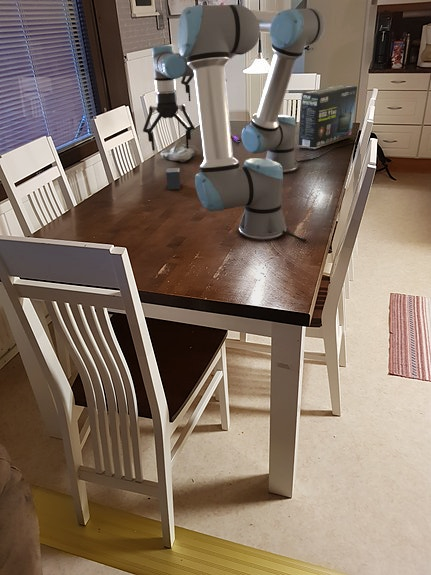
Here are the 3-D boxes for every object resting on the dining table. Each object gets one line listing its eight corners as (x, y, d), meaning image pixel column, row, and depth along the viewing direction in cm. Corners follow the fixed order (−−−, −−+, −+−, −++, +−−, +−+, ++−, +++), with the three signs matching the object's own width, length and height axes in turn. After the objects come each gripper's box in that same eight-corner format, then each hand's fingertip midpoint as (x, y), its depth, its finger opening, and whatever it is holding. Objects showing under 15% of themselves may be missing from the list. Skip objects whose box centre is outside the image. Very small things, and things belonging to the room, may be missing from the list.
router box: (314, 151, 231) (318, 94, 217) (296, 148, 237) (299, 92, 224) (352, 138, 251) (358, 85, 238) (335, 135, 258) (340, 83, 245)
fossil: (184, 156, 217) (163, 136, 220) (174, 174, 223) (154, 154, 227) (205, 153, 231) (186, 134, 234) (195, 171, 237) (176, 152, 240)
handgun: (219, 136, 267) (219, 132, 266) (232, 135, 268) (232, 131, 267) (227, 144, 249) (227, 140, 248) (240, 143, 250) (240, 139, 249)
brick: (180, 184, 194) (179, 167, 190) (180, 188, 189) (179, 171, 186) (167, 185, 194) (166, 168, 190) (167, 189, 189) (166, 172, 186)
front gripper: (198, 88, 176) (201, 144, 187) (133, 91, 175) (140, 148, 186) (199, 91, 170) (202, 149, 181) (131, 95, 169) (138, 152, 180)
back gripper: (230, 45, 201) (231, 97, 212) (173, 48, 200) (177, 99, 211) (232, 46, 194) (232, 99, 205) (173, 49, 193) (177, 102, 204)
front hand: (170, 148), depth 184 cm, fingers open, 13 cm apart
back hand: (204, 100), depth 208 cm, fingers open, 13 cm apart
